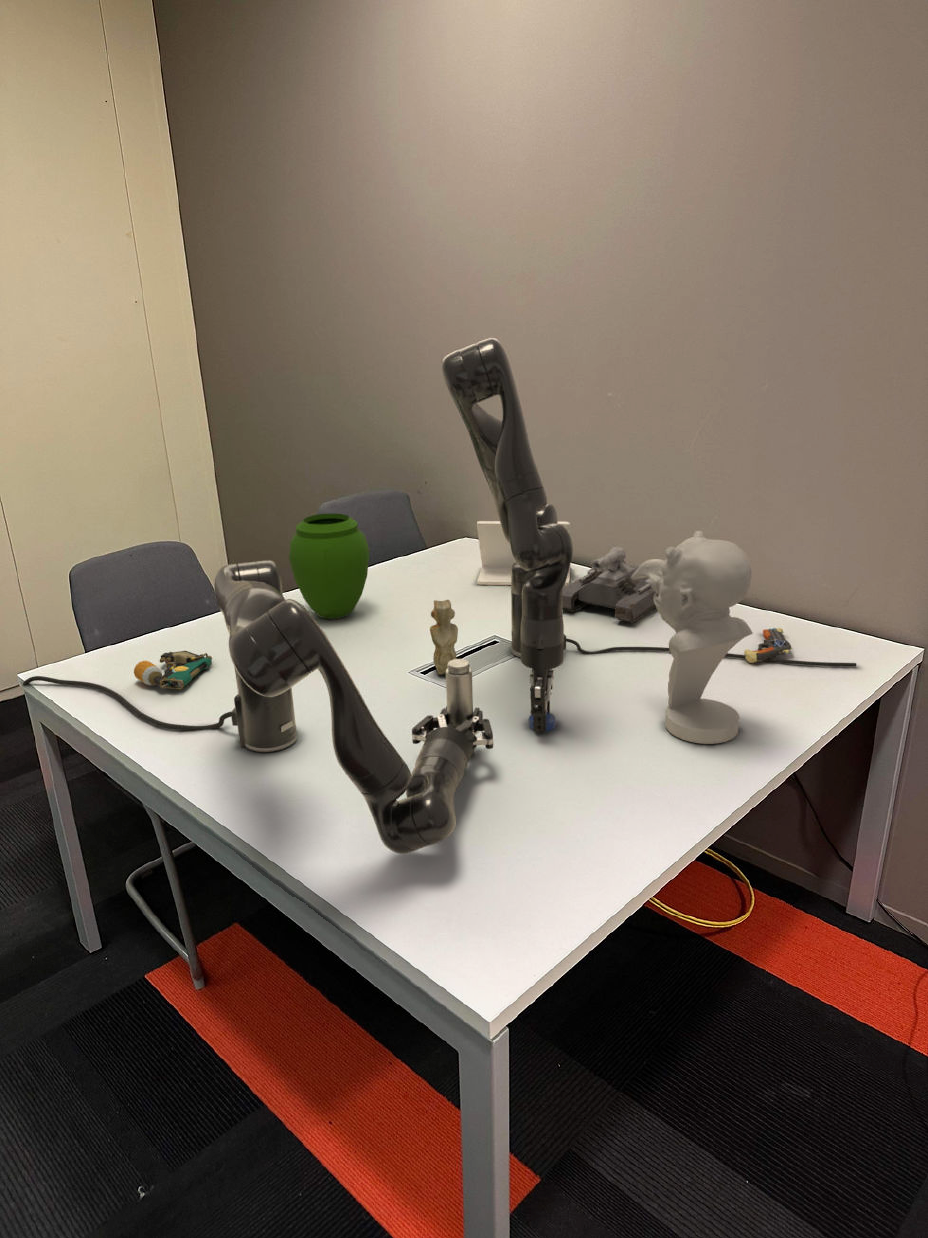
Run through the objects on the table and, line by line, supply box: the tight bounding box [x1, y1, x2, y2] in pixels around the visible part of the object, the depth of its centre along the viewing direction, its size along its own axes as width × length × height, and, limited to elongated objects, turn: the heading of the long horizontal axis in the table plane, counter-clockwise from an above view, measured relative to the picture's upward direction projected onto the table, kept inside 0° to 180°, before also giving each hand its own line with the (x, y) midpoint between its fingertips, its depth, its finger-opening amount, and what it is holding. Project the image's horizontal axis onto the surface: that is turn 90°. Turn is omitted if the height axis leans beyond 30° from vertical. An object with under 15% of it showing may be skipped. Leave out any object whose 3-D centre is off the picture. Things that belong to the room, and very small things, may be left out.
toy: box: [563, 546, 656, 624], centre depth 212 cm, size 25×20×15 cm
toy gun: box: [743, 627, 794, 664], centre depth 185 cm, size 3×19×10 cm
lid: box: [528, 712, 557, 733], centre depth 155 cm, size 5×5×2 cm
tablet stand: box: [476, 520, 572, 587], centre depth 236 cm, size 18×25×17 cm
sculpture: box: [429, 599, 459, 675], centre depth 177 cm, size 6×7×15 cm
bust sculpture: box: [631, 530, 754, 745], centre depth 151 cm, size 16×24×35 cm, turn 28°
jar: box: [445, 658, 475, 758], centre depth 144 cm, size 4×4×17 cm
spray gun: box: [133, 650, 213, 690], centre depth 180 cm, size 4×17×15 cm
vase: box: [288, 512, 370, 620], centre depth 209 cm, size 20×20×24 cm
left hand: (463, 711), depth 147 cm, fingers closed on jar, 4 cm apart
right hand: (541, 723), depth 155 cm, fingers open, 5 cm apart
